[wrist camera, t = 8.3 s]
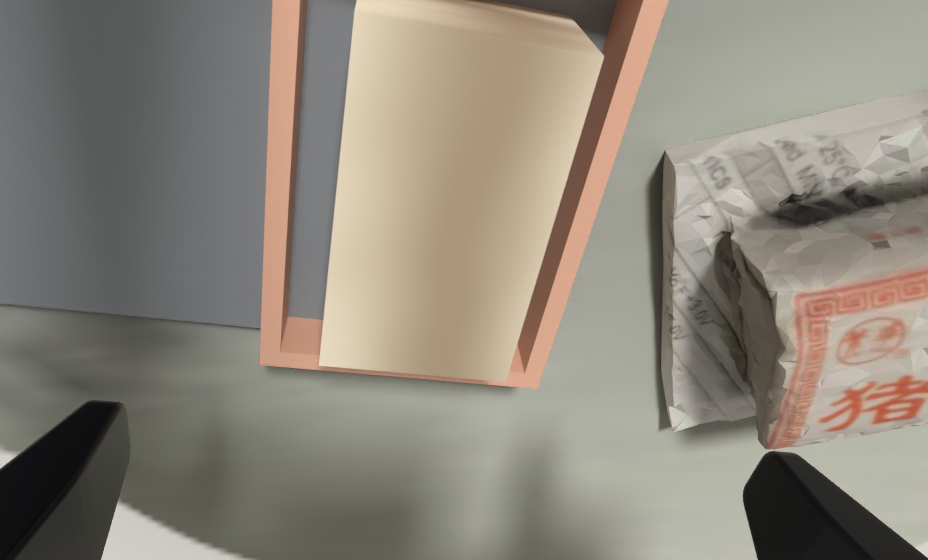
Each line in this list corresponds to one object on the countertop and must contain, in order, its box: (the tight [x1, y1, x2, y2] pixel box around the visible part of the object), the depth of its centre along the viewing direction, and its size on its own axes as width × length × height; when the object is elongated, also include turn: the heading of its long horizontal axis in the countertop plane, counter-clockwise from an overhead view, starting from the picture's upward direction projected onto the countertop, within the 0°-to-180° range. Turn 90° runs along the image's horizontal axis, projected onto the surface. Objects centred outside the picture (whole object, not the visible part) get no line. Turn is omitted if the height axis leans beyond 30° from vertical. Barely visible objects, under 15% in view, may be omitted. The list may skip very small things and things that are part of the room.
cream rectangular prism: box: [319, 0, 604, 382], centre depth 15 cm, size 4×8×3 cm, turn 169°
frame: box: [259, 0, 669, 389], centre depth 16 cm, size 11×8×2 cm
